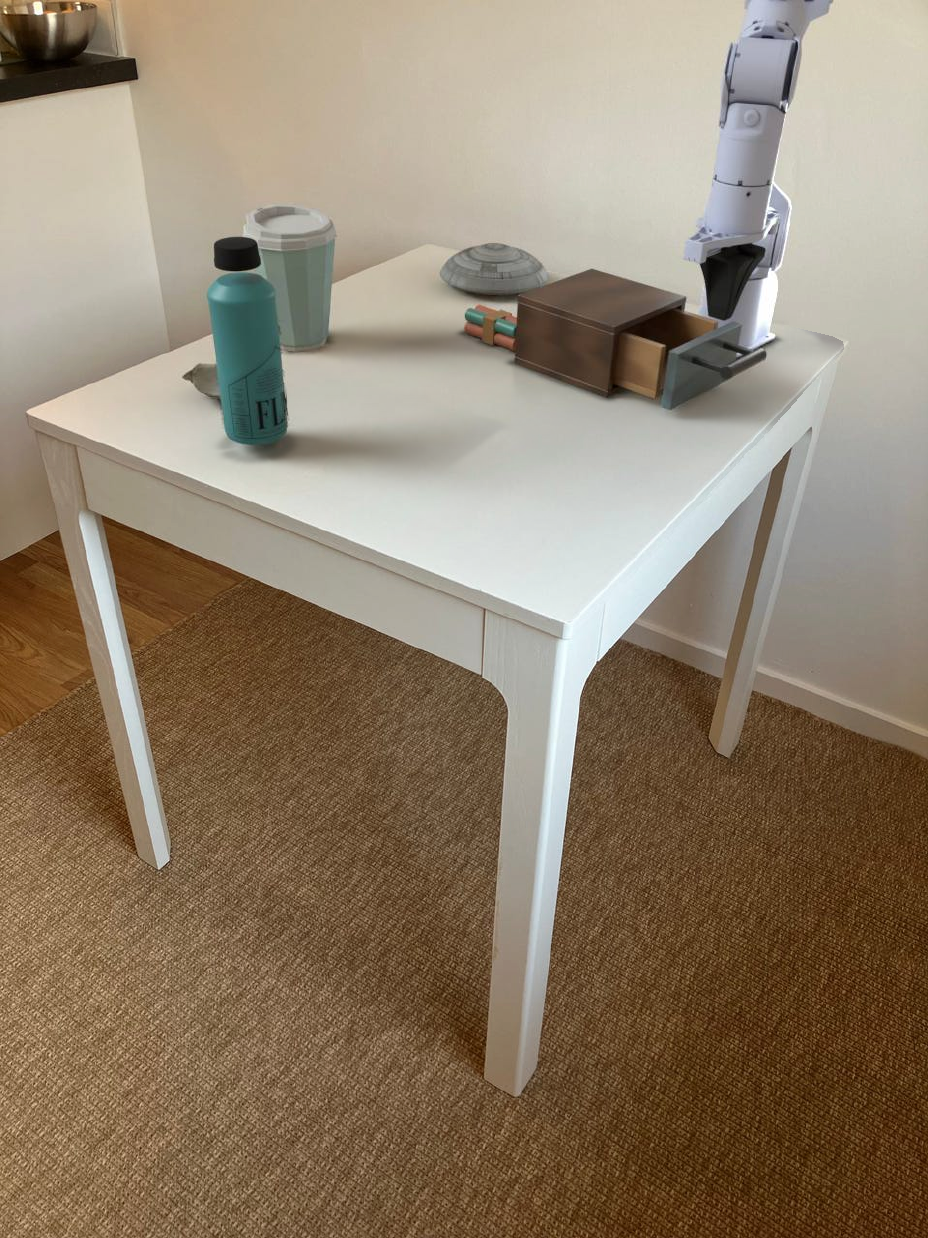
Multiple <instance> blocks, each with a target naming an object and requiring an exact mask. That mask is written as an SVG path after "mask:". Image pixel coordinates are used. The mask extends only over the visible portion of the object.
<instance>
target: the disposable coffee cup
mask: <svg viewBox="0 0 928 1238" xmlns="http://www.w3.org/2000/svg"><path fill="white" fill-rule="evenodd" d="M245 217H246V223H245V224H243V226H242V227H243V233H242V237H247V238H251V239H254V240H256V241H257V244H258V249H259V255H260V258H261V265H260V266H259V267H257V268H255V269H253V270H254V274H258V275H260V276H262V277H263V278H265V279H266V280H267V281H268V282H269V283H271V284H272V285H273V287H274V288H275V291H276V295H275V300H276V309H277V319H278V326H280V329H281V330H279V332H280V333H281V334H280V333H279V335H280V336H279V337H280V345H281V344H282V345H281V346H282V347H281V346H280V348H281V350H282V351H288V352H295V353H297V352H299V353H301V352H310V351H314V350H316V349H319V348H321V347H323V345H324V344H325V343H327V338H328V337H329V332H330V331H329V330H330V329H329V328H330V315H331V302H332V288H333V287H332V286H333V274H334V259H335V246H336V238H337V237H338V235H337V231H336V226H335V225H334V222H333V220H332V219H330V218H329V215H328V214H326V213H324V212H323V211H321V210H318V209H316V208H313V207H308V206H304V205H299V204H289V203H288V204H287V203H286V204H284V203H273V204H269V205H265V206H261V207H257V208H255V209H253V210H251V211H250V212H248V213H247V214H245ZM278 317H279V318H278ZM279 321H280V322H279ZM281 341H282V342H281Z"/></svg>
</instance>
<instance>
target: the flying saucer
mask: <svg viewBox="0 0 928 1238" xmlns="http://www.w3.org/2000/svg"><path fill="white" fill-rule="evenodd" d="M439 276H440V278H441V279H442V281H444V282H445V283H446V284H448V285H449V286H451V287H453V288H456V289H458V290H461V291H464V292H468V293H472V294H473V293H474V294H478V295H489V296H504V295H505V296H508V295H517V294H522V293H525V292H528V291H531V290H533V289H536V288H539V287H542V286H544V285H545V283H546V282H547V281H548V280H549V273H548V271H547V269H546V267H545V266H544V265H543V263H542V262H541V261H540V260H539V259H538V258H537V257H535V256H534V255H533V254H531V253H529V252H527V251H526V250H523V249H521V248H518V247H515V246H510V245H508V244H505V243H500V242H488V243H483V244H480V245H475V246H471V247H467V248H464V249H462V250H461V251H458V252H456V253H455V254H453V255H452V256H450V257H449V258H448V259H447V260H446V262H445V263H444V264H443V265H442V266H441V268H440V270H439Z"/></svg>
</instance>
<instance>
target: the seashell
mask: <svg viewBox="0 0 928 1238" xmlns="http://www.w3.org/2000/svg"><path fill="white" fill-rule="evenodd" d="M215 364H216V365H215ZM215 372H216V373H215ZM181 378H182V379H183V380H185V381H189V382H190V383H191V384H193V386H194V388H195V389H196V390H197V391H198V392H200V393H201V394H203V395H205V396H207V397H211V398H215V399H219V397H220V390H219V391H218V389H219V382H218V375H217V363H202V362H200V363H197V364H196V365H195V366H194V367H193V368H192V369H191V370H189V371H187V372H186V373H184V374H183V375H182V376H181ZM217 382H218V383H217ZM217 385H218V386H217ZM218 393H219V394H218ZM219 400H221V398H220V399H219Z"/></svg>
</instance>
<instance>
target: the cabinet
mask: <svg viewBox="0 0 928 1238" xmlns="http://www.w3.org/2000/svg"><path fill="white" fill-rule="evenodd" d="M686 304H687V296H686V295H682V294H679V293H675V292H672V291H670V290H665V289H663V288H659V287H655V286H652V285H649V284H645V283H641V282H639V281H636V280H632V279H628V278H625V277H622V276H618V275H614V274H611V273H608V272H604V271H601V270H598V269H594V268H588V269H587V270H584V271H580V272H578V273H576V274H573V275H570V276H567V277H564V278H562V279H558V280H556V281H553V282H550V283H548V284H544V285H541V286H540V287H538V288H536V289H533V290H530V291H527V292H523V293H518V295H517V307H516V317H517V325H516V345H515V351H514V364H516V365H519V366H521V367H524V368H527V369H529V370H532V371H534V372H538V373H540V374H543V375H545V376H548V377H551V378H554V379H556V380H558V381H561V382H564V383H566V384H569V385H572V386H574V387H577V388H580V389H582V390H585V391H588V392H591V393H593V394H596V395H598V396H600V397H603V398H606V399H608V398H611V397H612V396H614V395H616V394H618V393H621V392H622V391H624V390H626V388H624V387H621V386H618V385H615V384H613V375H614V366H615V357H616V348H617V339H618V332H620V331H622V330H624V329H627V328H629V327H631V326H634V325H636V324H638V323H641V322H643V321H645V320H648V319H650V318H653V317H655V316H657V315H660V314H662V313H664V312H667V311H669V310H671V309H674V308H677V309H680V310H683V311H686Z"/></svg>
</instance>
